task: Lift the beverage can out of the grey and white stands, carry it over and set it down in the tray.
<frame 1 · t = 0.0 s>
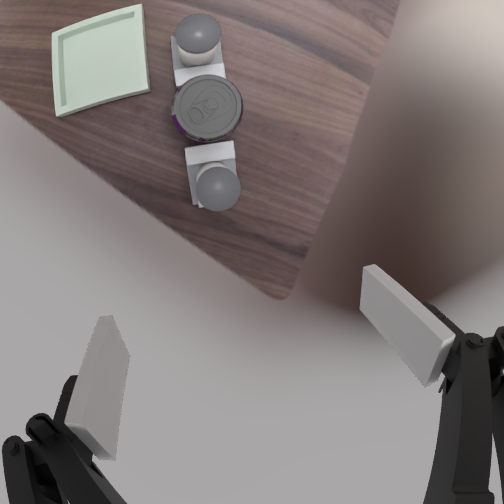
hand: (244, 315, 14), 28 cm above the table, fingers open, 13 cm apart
grey and white stands: (203, 114, 35), on the table
beverage can: (203, 114, 35), on the table
tray: (100, 60, 29), on the table
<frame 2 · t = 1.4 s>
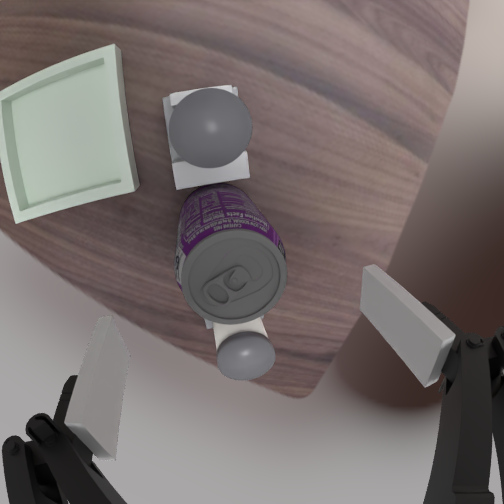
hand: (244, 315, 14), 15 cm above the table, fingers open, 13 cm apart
grey and white stands: (217, 219, 28), on the table
beverage can: (217, 218, 28), on the table
tray: (64, 135, 21), on the table
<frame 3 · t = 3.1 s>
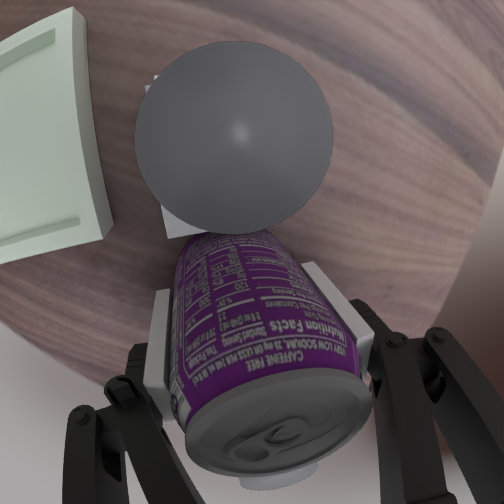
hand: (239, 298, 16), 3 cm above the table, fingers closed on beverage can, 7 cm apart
grey and white stands: (232, 272, 19), on the table
beverage can: (231, 271, 19), on the table, touching gripper
tray: (7, 149, 13), on the table
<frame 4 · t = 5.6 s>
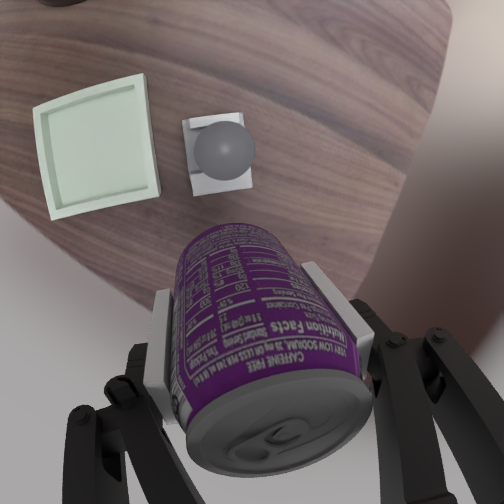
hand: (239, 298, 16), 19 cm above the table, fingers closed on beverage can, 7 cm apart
grey and white stands: (225, 221, 34), on the table
beverage can: (232, 271, 19), point 15 cm above the table, touching gripper
tray: (96, 147, 27), on the table
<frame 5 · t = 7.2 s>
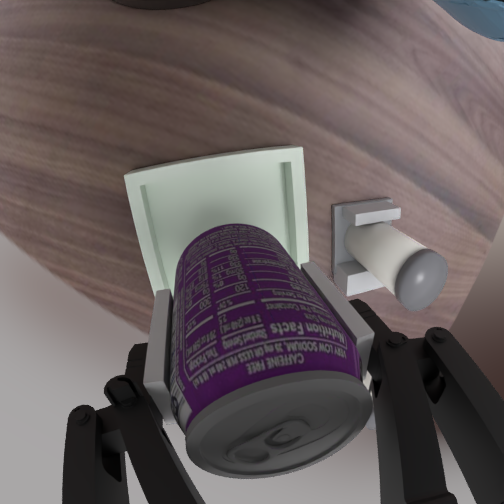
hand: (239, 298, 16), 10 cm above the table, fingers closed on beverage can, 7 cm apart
grey and white stands: (356, 306, 31), on the table
beverage can: (231, 272, 19), point 7 cm above the table, touching gripper
tray: (223, 232, 25), on the table
when the fingers open (4 cm above the table, at t = 8.6 s): beverage can stays where it is, resting on tray.
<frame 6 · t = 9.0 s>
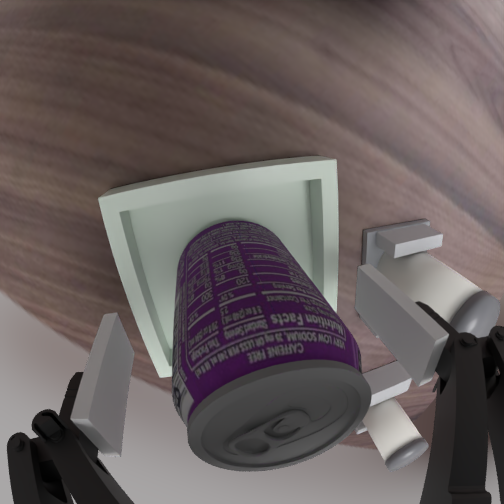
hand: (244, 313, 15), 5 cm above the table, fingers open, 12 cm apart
grey and white stands: (381, 341, 26), on the table
beverage can: (232, 269, 19), resting on tray
tray: (230, 266, 19), on the table
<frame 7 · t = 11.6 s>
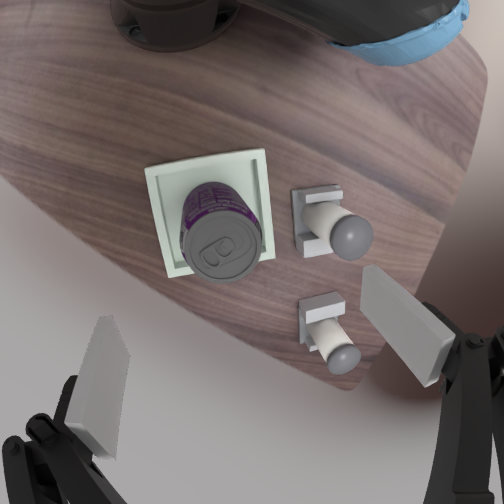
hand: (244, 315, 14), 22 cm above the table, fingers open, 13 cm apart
grey and white stands: (317, 271, 41), on the table
beverage can: (212, 210, 34), resting on tray
tray: (211, 209, 35), on the table
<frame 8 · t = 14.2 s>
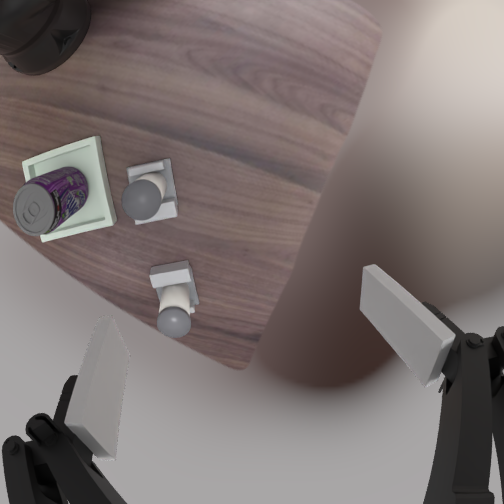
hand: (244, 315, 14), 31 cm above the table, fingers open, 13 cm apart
grey and white stands: (164, 239, 44), on the table
beverage can: (69, 189, 37), resting on tray
tray: (70, 188, 37), on the table
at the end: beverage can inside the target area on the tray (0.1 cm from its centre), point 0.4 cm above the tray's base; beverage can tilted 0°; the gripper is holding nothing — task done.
